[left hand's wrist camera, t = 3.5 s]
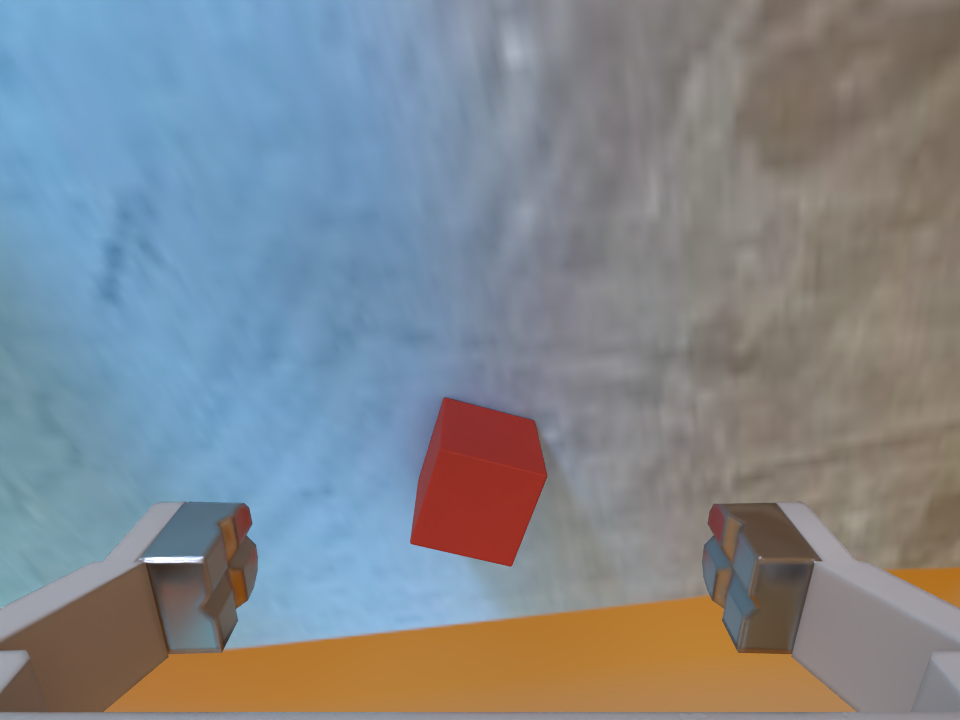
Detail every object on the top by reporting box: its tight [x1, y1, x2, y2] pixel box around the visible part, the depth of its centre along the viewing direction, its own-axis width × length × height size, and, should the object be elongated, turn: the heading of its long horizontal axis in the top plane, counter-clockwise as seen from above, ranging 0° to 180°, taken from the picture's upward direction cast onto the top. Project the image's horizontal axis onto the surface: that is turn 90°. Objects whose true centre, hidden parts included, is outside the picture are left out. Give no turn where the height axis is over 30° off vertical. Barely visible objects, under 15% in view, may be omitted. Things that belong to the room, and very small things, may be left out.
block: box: [410, 398, 547, 566], centre depth 26 cm, size 5×4×5 cm
